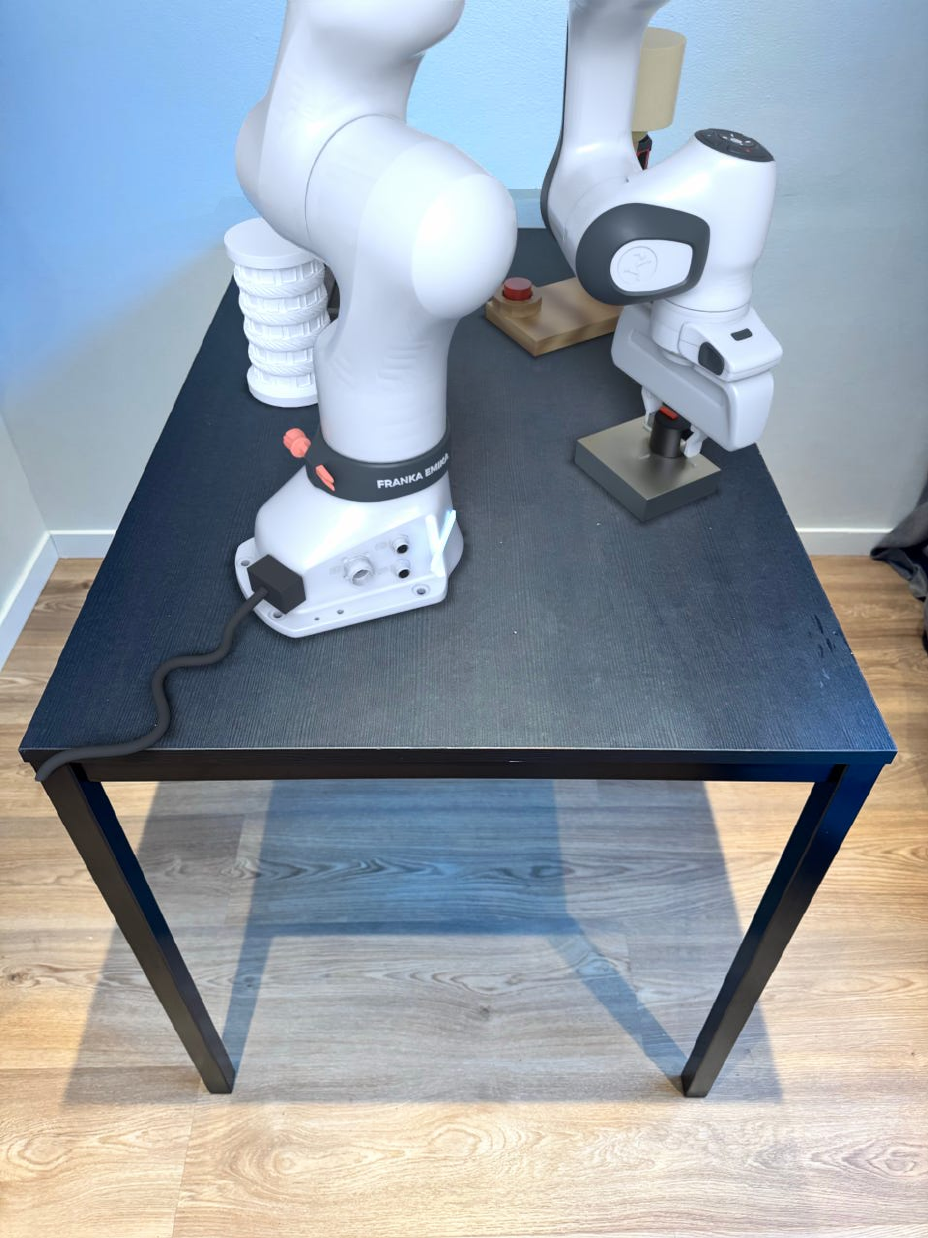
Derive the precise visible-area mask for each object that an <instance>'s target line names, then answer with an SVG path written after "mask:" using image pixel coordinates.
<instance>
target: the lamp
mask: <svg viewBox="0 0 928 1238" xmlns="http://www.w3.org/2000/svg"><path fill="white" fill-rule="evenodd" d="M687 42H688V39H687V37H686V36H685V35H683V34H682V33H680V32H678V31H675V30H672V29H667V28H662V27H655V26H647V28H646V31H645V34H644V37H643V41H642V45H641V52H640V60H639V69H638V77H637V86H636V94H635V103H634V111H633V120H632V131H631V132H632V142H633V146H634V150H635V153H636V154H637V147H638V141H640V140H642V139H643V138H644V137H645V136H646V135H647V134H649V132H655V131H660V130H664V129H667V128H668V127H670V126H672V124H673V123H674V121H675V114H676V107H677V101H678V97H679V96H678V95H679V89H680V84H681V78H682V71H683V66H684V61H685V60H684V59H685V54H686V47H687Z"/></svg>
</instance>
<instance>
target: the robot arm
mask: <svg viewBox="0 0 928 1238" xmlns="http://www.w3.org/2000/svg"><path fill="white" fill-rule="evenodd" d="M673 1H674V0H567V1H566V3H567V17H566V18H567V21H566V32H565V33H566V37H565V52H564V53H565V54H564V69H563V70H564V71H563V87H562V88H563V89H562V90H563V91H562V108H561V120H560V121H561V122H560V129H559V135H558V140H557V143H556V147H555V149H554V152H553V154H552V157H551V160H550V162H549V165H548V167H547V170H546V172H545V175H544V178H543V181H542V184H541V189H540V196H539V209H540V215H541V218H542V219H541V220H542V221H543V224H544V227H545V229H546V230H547V232H548V233H549V235H550V236H551V237H552V239H553V240H554V242H555V243H556V244H557V245H558V247H559V248H560V250H561V252H562V254H563V256H564V257H565V260H566V261H567V263H568V266H570V268H571V270H572V272H573V274H574V275H575V277H577V279H578V280H579V282H580V284H581V285H582V287H583V288H584V290H585V291H586V292H587V293H588V294H589V295H590V296H591V297H593V298H594V299H596V300H598V301H599V302H602V303H604V304H608V305H613V306H625V307H624V308H623V310H622V312H621V314H620V317H619V319H618V323H617V326H616V330H615V331H614V334H613V339H612V343H611V348H610V354H611V359H612V362H613V365H614V366H615V367H616V368H618V369H619V370H621V371H622V372H623V373H625V374H626V375H627V376H629V378H631V379H632V380H634V381H635V382H636V383H638V384H639V385H641V397H642V401H643V405H644V409H645V414H644V416H645V421H644V422H645V424H647V425H648V426H649V427H650V428H652V426H653V421H654V416H655V413H656V412H657V411H658V410H659V409H660V407H662V406H664V405H663V403H664V404H665V405H667V407H671V408H672V409H673V410H675V411H676V412H677V413H678V414H680V415H681V416H682V417H684V418H685V419H686V420H688V421H689V422H690V423H692V424H691V431H692V432H694V433H693V434H690V435H689V436H685V437H682V438H681V440H680V446H679V451H681V452H682V453H683V454H684V455H685V456H686V457H688V458H690V457H693V456H695V455H697V454H698V453H700V452H701V450H702V446H703V442H704V441H705V440H706V439H708V438H710V439H711V440H713V441H714V442H715V443H716V444H718V445H719V446H720V447H721V448H723V449H724V450H726V451H727V452H735V451H738V450H741V449H745V448H747V447H749V446H752V445H754V444H755V443H757V442H759V441H760V439H761V438H762V436H763V434H764V432H765V430H766V427H767V423H768V421H769V415H770V412H771V408H772V404H773V398H774V393H775V379H774V375H773V373H772V371H771V369H773V368H775V367H777V366H779V365H780V363H781V361H782V358H783V354H784V349H783V346H782V345H781V342H779V340H778V339H777V338H776V337H775V336H774V335H773V334H772V332H771V331H770V330H769V328H768V327H767V326H766V325H765V323H764V322H763V320H762V319H761V317H760V316H759V314H758V312H757V311H756V309H755V307H754V305H752V304H751V300H752V297H753V291H754V285H753V279H754V271H755V269H756V266H757V264H758V263H759V260H760V259H761V258H762V255H763V253H764V250H765V246H766V242H767V239H768V234H769V230H770V225H771V221H772V217H773V212H774V206H775V201H776V194H777V186H778V164H777V161H776V160H775V158H774V155H773V154H772V153H771V152H770V151H769V150H768V148H766V147H765V146H764V145H763V144H761V142H759V141H757V140H756V139H754V138H752V137H749V136H747V135H745V134H743V133H740V132H738V131H734V130H729V129H725V128H715V127H709V128H705V129H699V130H696V131H695V132H693V133H692V134H691V136H690V137H689V138H688V140H687V141H686V142H685V143H684V144H683V145H682V146H680V147H679V148H678V149H677V150H675V151H674V152H671V154H670V155H668V156H667V157H665V158H664V159H662V160H661V161H659V162H656V163H655V164H652V165H651V166H650V167H647V169H645V170H642V168H641V166H640V163H639V161H638V159H637V156H636V153H635V150H634V146H633V142H632V132H631V131H632V120H633V111H634V103H635V94H636V86H637V77H638V69H639V60H640V52H641V45H642V41H643V37H644V34H645V31H646V28H647V27H649V24H650V22H651V20H652V18H653V17H654V16H655V14H656V13H657V12H658V11H659V10H660V9H662V8H664V7H665V6H667V5H669V4H670V3H671V2H673ZM466 3H467V0H286V6H285V14H284V20H283V25H282V26H283V27H282V32H281V36H280V41H279V46H278V49H277V54H276V58H275V62H274V65H273V70H272V73H271V77H270V79H269V82H268V86H267V88H266V91H265V92H264V94H263V95H262V97H261V99H259V101H257V102H256V103H255V104H254V105H253V106H252V107H251V109H250V110H249V111H248V113H247V114H246V116H245V118H244V120H243V121H242V124H241V126H240V128H239V131H238V134H237V138H236V142H235V150H234V166H235V172H236V177H237V181H238V184H239V187H240V189H241V191H242V193H243V196H244V197H245V198H246V200H247V201H248V202H249V203H250V204H251V206H252V207H253V208H254V210H255V211H256V212H257V213H258V214H259V216H260V217H262V218H263V219H264V220H265V221H266V222H267V223H268V224H269V225H270V227H271V228H272V229H273V230H274V231H275V232H276V233H277V234H278V235H279V236H280V237H282V238H283V239H284V240H286V241H288V242H289V243H291V244H293V245H294V246H296V247H298V248H299V249H301V250H303V251H304V252H306V253H308V254H309V255H311V256H313V257H315V258H316V259H318V260H320V261H321V262H323V263H324V265H326V267H327V266H328V267H330V269H331V271H332V272H333V274H334V276H335V278H336V281H337V283H338V286H339V291H340V309H339V316H338V318H337V319H336V320H334V321H333V322H332V323H331V324H329V325H328V326H327V327H326V328H325V329H324V330H323V331H322V333H321V334H320V335H319V336H318V338H317V340H316V342H315V345H314V348H313V355H312V360H313V367H314V375H315V383H316V391H317V399H318V403H317V405H318V413H319V423H318V425H317V427H316V430H315V433H314V437H313V439H312V441H311V439H309V437H308V438H307V436H306V434H305V433H304V431H303V430H301V429H300V428H291V429H289V430H287V431H286V433H285V435H284V436H283V441H282V442H283V444H284V446H285V447H286V448H287V449H288V450H289V451H290V454H291V455H292V456H293V457H295V458H299V459H300V458H303V459H304V465H303V466H302V467H301V468H299V470H297V472H296V473H295V474H294V475H293V476H292V477H291V478H290V479H289V480H288V481H286V482H285V484H283V486H281V488H279V489H278V491H276V492H275V493H274V494H273V495H272V496H271V497H270V498H268V499H267V501H266V502H264V503H263V504H262V505H260V508H259V509H258V512H257V514H256V517H255V522H254V533H253V537H251V538H249V539H247V540H245V541H244V542H242V543H240V545H238V547H237V549H236V552H235V556H234V566H235V576H236V580H237V584H238V587H239V588H240V591H241V593H242V594H243V596H244V598H245V601H244V602H243V603H241V605H240V606H239V607H238V608H237V609H236V610H235V611H234V612H233V613H232V615H231V616H230V618H229V619H228V620H227V622H226V624H225V626H224V628H223V632H222V635H221V643H220V645H219V647H218V648H217V649H215V650H214V651H212V652H210V653H206V654H198V655H181V656H176V657H172V658H170V659H167V660H166V661H164V662H163V663H162V664H160V666H158V668H157V669H156V670H155V671H154V674H153V675H152V677H151V683H150V686H151V693H152V698H153V700H154V703H155V706H156V710H157V714H158V717H157V722H156V725H155V726H154V728H153V729H152V730H151V731H150V732H148V733H147V734H145V735H144V736H142V737H140V738H137V739H135V740H132V741H128V742H127V741H126V742H122V743H115V744H101V745H87V746H78V747H73V748H69V749H64V750H61V751H60V752H57V753H55V754H54V755H52V756H51V757H49V758H48V759H47V760H46V761H45V762H43V764H42V765H40V767H39V768H38V770H37V772H36V774H35V775H34V777H33V779H34V782H37V783H40V782H44V781H45V780H47V779H48V778H49V777H50V776H51V775H52V774H53V772H54V771H56V770H58V768H59V767H61V766H63V765H65V764H68V763H70V762H73V761H79V760H85V759H96V758H109V757H111V758H112V757H119V756H127V755H132V754H135V753H138V752H142V751H144V750H146V749H148V748H149V747H151V746H153V745H154V744H156V743H157V742H158V741H159V740H160V739H162V737H164V735H165V734H166V732H167V731H168V728H169V726H170V724H171V723H170V722H171V717H172V716H171V710H170V706H169V702H168V700H167V696H166V693H165V690H164V681H165V679H166V677H167V676H168V674H169V673H171V672H172V671H174V670H176V669H179V668H189V667H204V666H209V665H214V664H216V663H218V662H221V661H222V660H224V659H225V658H226V657H227V656H228V654H230V652H231V649H232V645H233V641H234V635H235V633H236V631H237V629H238V627H239V626H240V624H241V623H242V622H243V620H244V619H245V618H246V617H247V616H248V615H249V614H250V612H252V611H254V613H255V614H256V615H257V616H258V617H259V618H260V619H261V620H262V622H264V623H265V624H266V625H267V626H269V627H270V628H271V629H273V630H274V631H276V632H278V633H280V634H282V635H284V636H287V637H289V638H293V639H297V638H298V639H299V638H304V637H308V636H311V635H315V634H320V633H323V632H328V631H331V630H336V629H340V628H344V627H347V626H351V625H356V624H360V623H363V622H367V621H371V620H376V619H379V618H383V617H384V618H385V617H388V616H392V615H395V614H399V613H404V612H407V611H412V610H415V609H419V608H423V607H428V606H431V605H436V604H438V603H441V602H443V601H444V600H445V598H446V596H447V593H448V589H449V578H450V576H451V574H452V573H453V571H454V570H455V568H456V567H457V565H458V564H459V562H460V560H461V558H462V555H463V551H464V536H463V533H462V531H461V528H460V525H459V523H458V520H457V517H456V510H455V508H454V505H453V500H452V499H453V498H452V494H451V493H452V492H451V486H450V478H449V468H450V466H451V464H452V463H451V462H452V428H451V427H452V426H451V422H450V418H449V416H448V415H447V386H448V385H447V383H448V381H447V380H448V357H449V351H450V345H451V342H452V338H453V335H454V332H455V329H456V327H457V325H458V324H459V322H460V320H461V319H462V318H464V317H466V316H468V315H471V314H472V313H474V312H476V311H477V310H478V309H480V308H481V307H482V306H483V305H485V304H486V302H489V300H490V299H492V296H493V295H494V293H495V292H496V291H497V290H498V288H499V287H500V285H502V284H503V283H504V282H505V280H506V277H507V275H508V273H509V272H510V268H511V266H512V263H513V260H514V258H515V253H516V249H517V243H518V215H517V209H516V206H515V202H514V200H513V197H512V195H511V193H510V191H509V190H508V189H507V186H506V185H504V183H502V182H501V181H500V180H499V179H498V178H497V177H495V176H494V174H493V173H491V171H489V169H487V168H485V166H483V165H482V164H481V163H480V162H478V160H476V159H475V158H473V157H472V156H471V155H470V154H468V153H467V152H466V151H465V150H463V149H462V148H461V147H459V146H458V145H456V144H454V143H452V142H449V141H447V140H445V139H442V138H440V137H438V136H435V135H433V134H430V133H428V132H426V131H423V130H422V129H418V128H417V127H414V126H411V125H410V124H408V120H407V117H408V116H407V112H408V104H409V99H410V95H411V91H412V88H413V85H414V82H415V79H416V76H417V74H418V71H419V69H420V66H421V64H422V63H423V60H424V59H425V57H426V55H427V54H428V52H429V51H430V50H431V49H432V48H435V47H436V46H438V45H440V44H441V43H443V42H444V41H445V40H447V39H448V38H449V37H450V35H452V34H453V32H455V30H456V28H457V27H458V25H459V23H460V21H461V20H462V16H463V14H464V12H465V7H466Z"/></svg>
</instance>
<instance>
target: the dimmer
mask: <svg viewBox="0 0 928 1238" xmlns="http://www.w3.org/2000/svg"><path fill="white" fill-rule="evenodd" d="M644 421H645V415H642V416H639V417H637V418H634V419H632V420H629V421H626V422H623V423H620V424H617V425H615V426H612V427H609V428H607V429H604V430H601V431H599V432H595V433H593V434H590V435H587V436H585V437H582V438H579V439H577V440H576V446H575V453H574V454H575V455H574V464H576V465H577V466H578V467H579V468H580V469H581V470H582V471H583V472H584V473H586V474H587V475H588V476H589V477H590V478H592V480H594V481H595V482H596V483H597V484H598V485H599V486H601V487H602V488H603V489H604V490H605V491H606V492H607V493H608V494H609V495H611V496H612V497H613V498H614V499H615V500H616V501H617V502H618V503H619V504H621V505H622V506H623V507H624V508H625V509H626V510H627V511H629V512H630V513H631V514H632V515H633V516H634V517H636V518H637V519H638V520H639V521H640V522H641V523H645V522H648V521H649V520H652V519H655V518H656V517H659V516H662V515H664V514H666V513H668V512H669V513H670V512H671V511H674V510H676V509H678V508H681V507H683V506H685V505H689V504H690V503H692V502H693V503H694V502H695V501H697V500H700V499H702V498H704V497H707V496H709V495H711V494H714V493H716V490H717V486H718V482H719V479H720V476H721V471H722V469H721V468H720V467H718V466H717V465H715V464H714V463H713V462H712V461H710V460H709V459H708V458H706V457H705V456H704V455H703V454H701V453H700V452H699V453H698V454H697V455H695V456H693V457H690V458H688V457H686V456H685V455H684V456H682V457H677V458H669V457H664V456H661V455H659V454H657V453H655V452H654V451H653V450H652V449H651V448H650V445H649V441H650V436H651V431H652V428H650V427H649V426H648V425H647V424H645V422H644Z"/></svg>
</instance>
